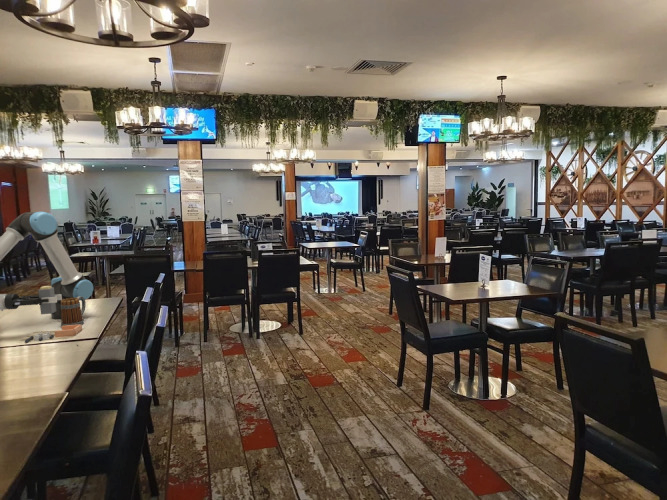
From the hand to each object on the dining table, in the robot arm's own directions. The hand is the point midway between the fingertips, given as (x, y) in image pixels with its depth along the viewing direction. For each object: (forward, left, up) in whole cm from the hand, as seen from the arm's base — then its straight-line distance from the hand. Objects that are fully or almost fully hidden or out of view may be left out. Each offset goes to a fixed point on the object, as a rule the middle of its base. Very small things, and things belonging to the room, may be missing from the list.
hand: (58, 298), depth 237 cm
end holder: (+1, +3, -18) cm, 18 cm away
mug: (-19, 0, -19) cm, 27 cm away
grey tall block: (0, -5, -7) cm, 9 cm away
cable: (+8, -7, -18) cm, 21 cm away
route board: (+1, -4, -19) cm, 20 cm away
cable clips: (+7, -6, -18) cm, 20 cm away
